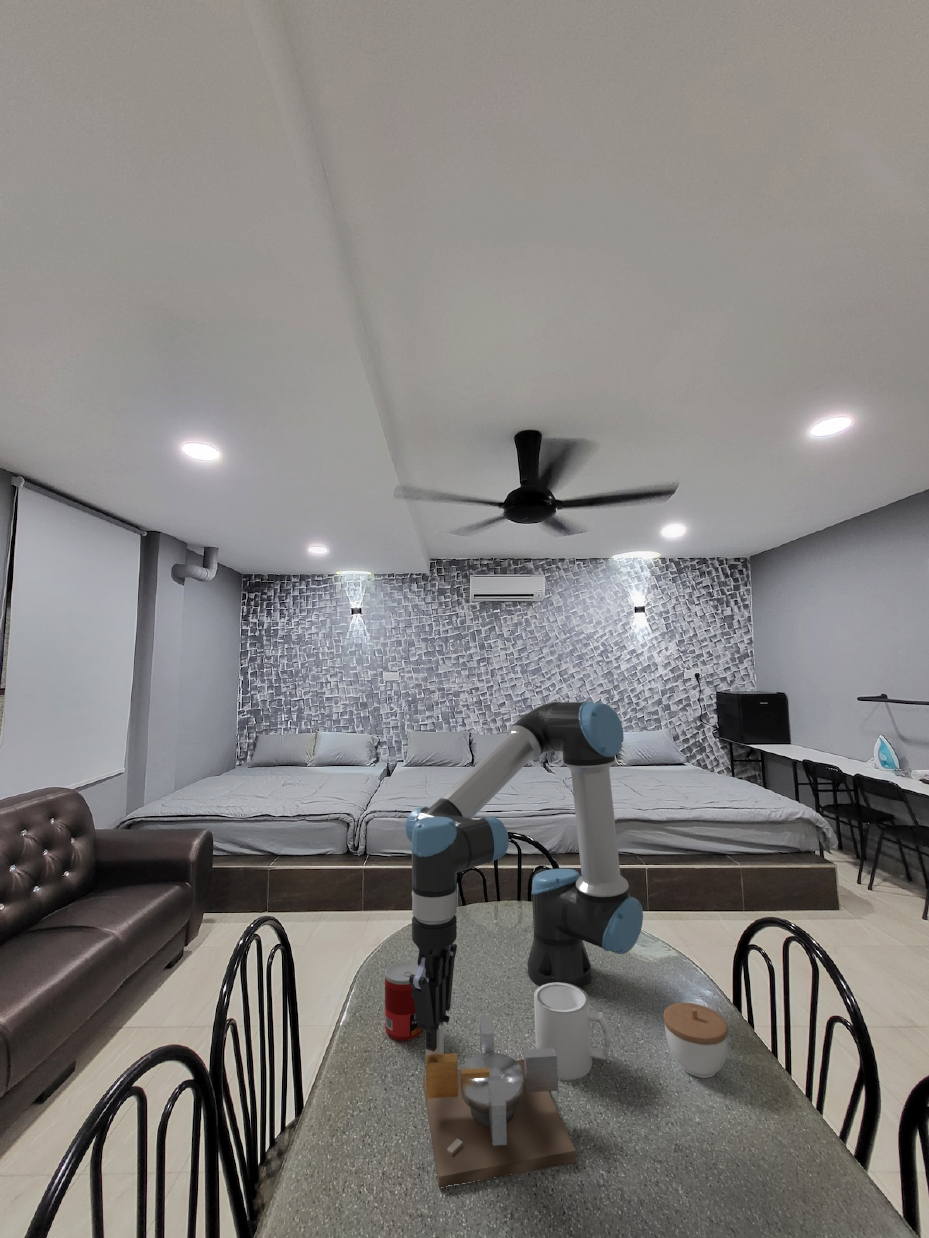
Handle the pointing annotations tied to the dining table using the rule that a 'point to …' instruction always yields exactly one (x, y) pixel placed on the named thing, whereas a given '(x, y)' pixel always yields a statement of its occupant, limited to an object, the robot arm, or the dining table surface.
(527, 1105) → the wooden base plate
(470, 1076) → the silver spoked hub
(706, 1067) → the lidded jar
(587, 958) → the robot arm
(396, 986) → the canned food
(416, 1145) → the dining table surface
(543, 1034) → the mug
